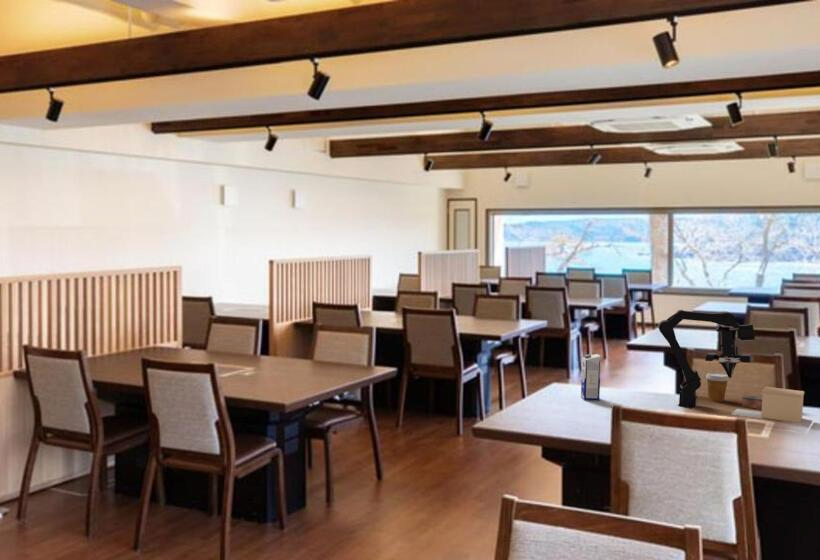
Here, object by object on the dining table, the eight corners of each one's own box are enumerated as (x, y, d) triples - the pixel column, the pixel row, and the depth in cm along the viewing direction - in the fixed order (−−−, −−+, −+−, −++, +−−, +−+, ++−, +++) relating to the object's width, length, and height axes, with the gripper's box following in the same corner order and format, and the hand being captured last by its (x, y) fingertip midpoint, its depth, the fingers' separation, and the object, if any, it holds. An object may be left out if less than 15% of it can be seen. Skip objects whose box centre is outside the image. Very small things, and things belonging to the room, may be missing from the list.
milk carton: (599, 400, 343) (601, 355, 342) (584, 400, 343) (585, 355, 342) (595, 397, 350) (597, 353, 349) (580, 396, 350) (582, 352, 349)
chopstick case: (741, 407, 336) (742, 397, 336) (743, 405, 341) (744, 395, 340) (793, 414, 325) (794, 403, 325) (795, 412, 329) (795, 401, 329)
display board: (730, 415, 321) (730, 414, 321) (736, 409, 332) (736, 408, 332) (795, 424, 308) (795, 423, 308) (799, 418, 319) (799, 416, 319)
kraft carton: (760, 417, 316) (762, 390, 316) (764, 413, 324) (765, 386, 323) (799, 423, 308) (801, 395, 308) (802, 418, 316) (804, 391, 316)
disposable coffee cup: (729, 400, 350) (730, 374, 349) (725, 404, 342) (726, 377, 341) (707, 398, 355) (708, 372, 354) (702, 401, 347) (703, 375, 346)
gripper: (757, 339, 331) (759, 375, 331) (712, 338, 343) (714, 373, 344) (748, 342, 322) (750, 380, 323) (703, 341, 335) (705, 377, 335)
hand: (730, 377), depth 331 cm, fingers closed
